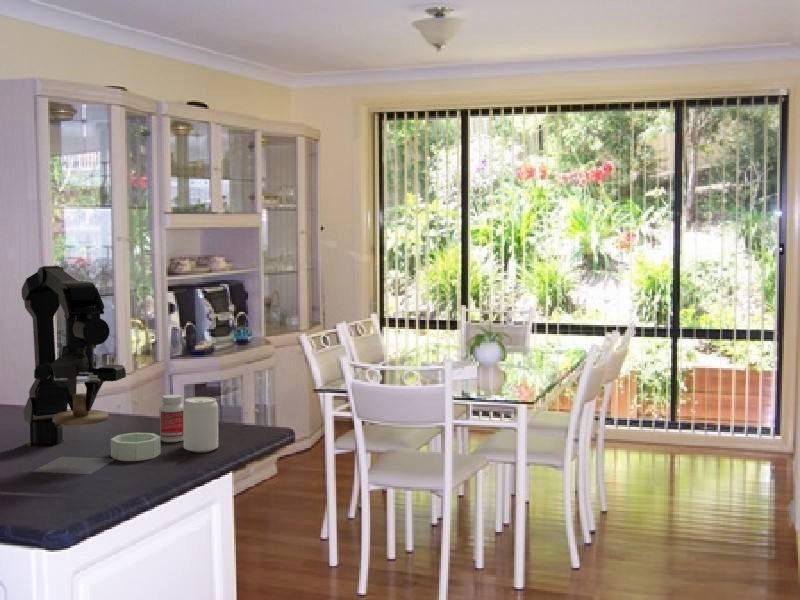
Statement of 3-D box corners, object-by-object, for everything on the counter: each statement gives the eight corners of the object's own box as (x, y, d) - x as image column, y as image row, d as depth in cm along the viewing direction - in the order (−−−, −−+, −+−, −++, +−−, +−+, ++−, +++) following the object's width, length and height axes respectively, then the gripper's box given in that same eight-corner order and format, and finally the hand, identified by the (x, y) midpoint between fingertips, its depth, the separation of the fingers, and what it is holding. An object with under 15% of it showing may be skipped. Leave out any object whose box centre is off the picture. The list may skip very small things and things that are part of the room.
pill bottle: (189, 441, 231) (188, 396, 230) (164, 444, 228) (164, 399, 227) (180, 436, 236) (179, 392, 235) (156, 439, 233) (155, 395, 232)
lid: (42, 424, 200) (42, 398, 200) (68, 413, 212) (68, 389, 211) (94, 426, 199) (93, 400, 198) (117, 415, 210) (117, 390, 210)
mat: (32, 474, 199) (32, 471, 199) (61, 459, 212) (61, 456, 212) (90, 476, 198) (90, 474, 198) (116, 461, 211) (116, 458, 211)
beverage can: (188, 454, 217) (188, 403, 216) (179, 447, 225) (179, 397, 224) (222, 451, 221) (222, 401, 220) (212, 444, 228) (212, 395, 227)
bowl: (105, 462, 210) (104, 442, 210) (123, 451, 220) (123, 432, 220) (148, 464, 209) (148, 443, 208) (165, 453, 219) (165, 433, 218)
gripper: (19, 343, 197) (21, 416, 198) (103, 346, 195) (104, 420, 196) (46, 337, 208) (47, 406, 209) (126, 339, 206) (127, 409, 207)
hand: (80, 410), depth 205 cm, fingers closed on lid, 3 cm apart
